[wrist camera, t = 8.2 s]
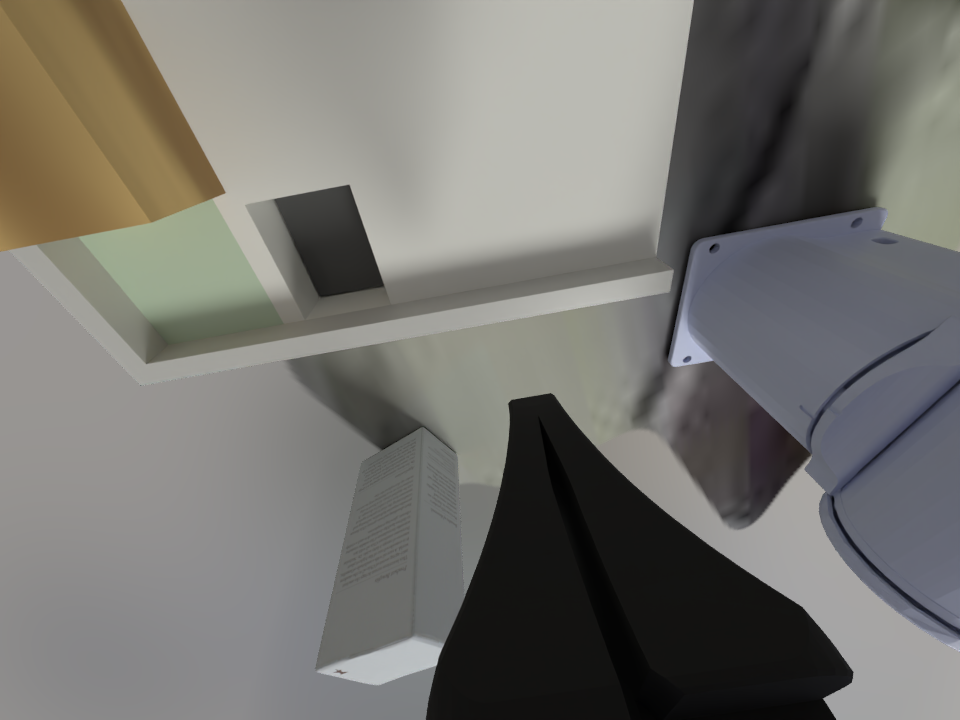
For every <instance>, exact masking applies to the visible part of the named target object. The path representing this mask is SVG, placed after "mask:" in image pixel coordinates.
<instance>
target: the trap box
mask: <svg viewBox="0 0 960 720" xmlns="http://www.w3.org/2000/svg"><path fill="white" fill-rule="evenodd" d="M121 1H122V3H123V5H124V6H125V8H126V10H127V12H128V14H129V16H130V17H131V19H132V21H133V23H134V25H135V27H136V28H137V30H138V32H139V34H140V36H141V38H142V39H143V41H144V43H145V45H146V47H147V49H148V51H149V52H150V54H151V56H152V58H153V60H154V62H155V63H156V65H157V67H158V69H159V71H160V73H161V74H162V76H163V78H164V80H165V82H166V84H167V85H168V87H169V89H170V91H171V93H172V95H173V96H174V98H175V100H176V102H177V104H178V106H179V107H180V109H181V111H182V113H183V115H184V117H185V118H186V120H187V122H188V124H189V126H190V128H191V129H192V131H193V133H194V135H195V137H196V139H197V140H198V142H199V144H200V146H201V148H202V150H203V151H204V153H205V155H206V157H207V159H208V161H209V163H210V164H211V166H212V168H213V170H214V172H215V174H216V175H217V177H218V179H219V181H220V183H221V185H222V186H223V188H224V190H225V192H226V193H225V194H223V195H220V196H218V197H215V198H213V199H210V200H208V201H205V202H203V203H200V204H197V205H195V206H192V207H190V208H187V209H185V210H182V211H180V212H177V213H175V214H172V215H170V216H167V217H165V218H162V219H160V220H157V221H155V222H152V223H148V224H143V225H137V226H132V227H127V228H122V229H116V230H111V231H106V232H101V233H95V234H90V235H85V236H80V237H75V238H69V239H64V240H59V241H54V242H48V243H43V244H38V245H33V246H27V247H22V248H17V249H12V250H9V251H10V252H11V253H12V255H13V256H15V258H16V259H17V260H18V261H20V263H21V264H22V265H23V266H24V267H25V268H26V269H27V270H28V271H29V272H30V273H31V274H32V275H33V276H34V277H35V278H36V279H37V280H38V281H39V282H40V283H41V284H42V285H43V286H44V287H45V288H46V289H47V290H48V291H49V292H50V293H51V294H52V295H53V297H54V298H55V299H57V301H58V302H59V303H60V304H61V305H62V306H63V307H64V308H65V309H66V310H67V311H68V312H69V313H70V314H71V315H72V316H73V317H74V318H75V319H76V320H77V321H78V322H79V323H80V324H81V325H82V326H83V327H84V328H85V329H86V330H87V331H88V332H89V333H90V334H91V335H92V336H93V338H94V339H95V340H96V341H97V342H98V343H99V344H100V345H101V346H102V347H103V348H104V349H105V350H106V351H107V352H108V353H109V354H110V355H111V356H112V357H113V358H114V359H115V360H116V361H117V362H118V363H119V364H120V365H121V366H122V367H123V368H124V369H125V370H126V371H127V372H128V373H129V374H130V375H131V376H132V377H133V378H134V380H135V381H136V382H137V383H138V384H140V386H142V385H147V384H153V383H159V382H165V381H170V380H176V379H182V378H187V377H193V376H199V375H204V374H210V373H215V372H221V371H226V370H232V369H238V368H243V367H249V366H255V365H260V364H266V363H272V362H278V361H283V360H289V359H295V358H300V357H306V356H311V355H317V354H323V353H328V352H334V351H340V350H345V349H351V348H357V347H362V346H368V345H374V344H379V343H385V342H390V341H396V340H402V339H407V338H413V337H419V336H424V335H430V334H436V333H441V332H447V331H452V330H458V329H464V328H469V327H475V326H481V325H486V324H492V323H498V322H503V321H509V320H515V319H520V318H526V317H531V316H537V315H543V314H548V313H554V312H560V311H565V310H571V309H577V308H582V307H588V306H594V305H599V304H605V303H610V302H616V301H622V300H627V299H633V298H639V297H644V296H650V295H656V294H661V293H667V292H670V288H671V282H672V277H673V272H674V270H673V269H672V268H671V267H669V266H668V265H667V264H665V263H664V262H662V261H661V260H660V259H658V258H657V257H656V254H657V247H658V240H659V233H660V226H661V220H662V213H663V206H664V199H665V193H666V186H667V179H668V172H669V166H670V159H671V152H672V145H673V139H674V132H675V125H676V118H677V111H678V105H679V98H680V91H681V84H682V78H683V71H684V64H685V57H686V51H687V44H688V37H689V30H690V23H691V17H692V10H693V3H694V0H121Z"/></svg>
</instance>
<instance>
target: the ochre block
mask: <svg viewBox="0 0 960 720" xmlns="http://www.w3.org/2000/svg"><path fill="white" fill-rule="evenodd" d="M225 193H226V192H225V190H224V188H223V186H222V185H221V183H220V181H219V179H218V177H217V175H216V174H215V172H214V170H213V168H212V166H211V164H210V163H209V161H208V159H207V157H206V155H205V153H204V151H203V150H202V148H201V146H200V144H199V142H198V140H197V139H196V137H195V135H194V133H193V131H192V129H191V128H190V126H189V124H188V122H187V120H186V118H185V117H184V115H183V113H182V111H181V109H180V107H179V106H178V104H177V102H176V100H175V98H174V96H173V95H172V93H171V91H170V89H169V87H168V85H167V84H166V82H165V80H164V78H163V76H162V74H161V73H160V71H159V69H158V67H157V65H156V63H155V62H154V60H153V58H152V56H151V54H150V52H149V51H148V49H147V47H146V45H145V43H144V41H143V39H142V38H141V36H140V34H139V32H138V30H137V28H136V27H135V25H134V23H133V21H132V19H131V17H130V16H129V14H128V12H127V10H126V8H125V6H124V5H123V3H122V1H121V0H0V252H1V251H6V250H12V249H17V248H22V247H27V246H33V245H38V244H43V243H48V242H54V241H59V240H64V239H69V238H75V237H80V236H85V235H90V234H95V233H101V232H106V231H111V230H116V229H122V228H127V227H132V226H137V225H143V224H148V223H152V222H155V221H157V220H160V219H162V218H165V217H167V216H170V215H172V214H175V213H177V212H180V211H182V210H185V209H187V208H190V207H192V206H195V205H197V204H200V203H203V202H205V201H208V200H210V199H213V198H215V197H218V196H220V195H223V194H225Z"/></svg>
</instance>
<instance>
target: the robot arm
mask: <svg viewBox="0 0 960 720" xmlns="http://www.w3.org/2000/svg"><path fill="white" fill-rule="evenodd" d="M887 215H888V210H887V209H885V208H881V207H873V208H867V209H862V210H856V211H851V212H845V213H840V214H834V215H829V216H823V217H817V218H812V219H806V220H801V221H795V222H790V223H784V224H779V225H773V226H768V227H762V228H757V229H751V230H746V231H740V232H735V233H729V234H724V235H718V236H713V237H707V238H702V239H699V240H698V241H696V242H695V243H694V244H693V246H692V248H691V251H690V255H689V260H688V265H687V270H686V275H685V280H684V285H683V289H682V294H681V299H680V304H679V309H678V314H677V319H676V323H675V328H674V333H673V338H672V343H671V348H670V353H669V357H668V362H669V363H670V364H671V365H672V366H674V367H678V366H684V365H690V364H696V363H702V362H708V361H715V362H716V363H717V364H718V365H719V366H720V367H721V368H722V369H723V370H724V371H725V372H726V373H727V374H728V375H729V376H730V377H731V378H732V379H733V380H734V381H736V382H737V383H738V384H739V385H740V386H741V387H742V388H743V389H744V390H745V391H746V392H747V393H748V394H749V395H750V396H751V397H752V398H753V399H754V400H756V401H757V402H758V403H759V404H760V405H761V406H762V407H763V408H764V409H765V410H766V411H767V412H768V413H769V414H770V415H771V416H772V417H773V418H774V419H775V420H777V421H778V422H779V423H780V424H781V425H782V426H783V427H784V428H785V429H786V430H787V431H788V432H789V433H790V434H791V435H792V436H793V437H794V438H795V439H796V440H798V441H799V442H800V443H801V444H802V445H803V446H804V447H805V448H806V449H807V450H808V451H809V452H810V453H811V454H812V459H811V460H810V462H809V464H808V465H807V466H806V467H805V471H806V472H807V473H808V474H809V475H810V476H811V477H812V478H813V479H814V480H815V481H816V482H817V483H818V484H819V485H820V486H821V487H822V488H823V489H824V490H825V491H826V492H825V493H824V494H823V496H822V498H821V501H820V503H819V514H820V518H821V523H822V525H823V528H824V530H825V532H826V535H827V536H828V538H829V540H830V541H831V543H832V545H833V546H834V548H835V550H836V551H837V552H838V553H839V555H840V556H841V557H842V559H843V560H844V561H845V563H846V564H847V565H848V566H849V567H850V569H851V570H852V571H853V572H854V573H855V574H856V575H857V576H858V577H859V578H860V580H861V581H862V582H864V583H865V584H866V585H867V586H868V587H869V588H870V589H871V590H872V591H873V592H874V593H875V594H876V595H877V596H878V597H880V598H881V599H882V600H883V601H884V602H885V603H887V604H888V605H889V606H890V607H892V608H893V609H894V610H895V611H896V612H898V613H899V614H900V615H902V616H903V617H905V618H906V619H907V620H909V621H910V622H912V623H913V624H914V625H916V626H917V627H918V628H920V629H922V630H923V631H925V632H926V633H928V634H929V635H931V636H933V637H934V638H936V639H937V640H939V641H941V642H942V643H944V644H945V645H947V646H949V647H951V648H953V649H955V650H957V651H959V652H960V252H958V251H954V250H951V249H947V248H944V247H940V246H936V245H933V244H929V243H926V242H922V241H919V240H915V239H912V238H908V237H905V236H901V235H898V234H894V233H891V232H887V231H884V230H881V228H882V226H883V224H884V222H885V220H886V218H887ZM853 221H854V222H853ZM852 222H853V223H852ZM713 244H715V246H714V248H713V249H712V250H710V251H709V249H710V247H711V246H712V245H713ZM685 357H686V358H685ZM684 358H685V359H684ZM508 405H509V412H510V429H509V441H508V449H507V457H506V463H505V468H504V473H503V478H502V483H501V488H500V492H499V496H498V500H497V504H496V508H495V512H494V515H493V519H492V522H491V526H490V529H489V532H488V535H487V538H486V541H485V545H484V547H483V551H482V553H481V556H480V559H479V562H478V564H477V567H476V570H475V572H474V575H473V577H472V580H471V583H470V585H469V588H468V590H467V593H466V596H465V598H464V601H463V603H462V605H461V608H460V610H459V612H458V615H457V617H456V619H455V621H454V624H453V626H452V628H451V630H450V632H449V635H448V637H447V639H446V641H445V644H444V646H443V648H442V650H441V653H440V655H439V658H438V663H437V667H436V671H435V675H434V679H433V683H432V687H431V692H430V696H429V701H428V708H427V716H426V720H836V718H835V717H834V715H833V714H832V712H831V710H830V709H829V707H828V706H827V704H826V703H825V701H824V700H823V698H824V697H826V696H828V695H830V694H832V693H834V692H836V691H838V690H840V689H841V688H844V687H845V686H847V685H849V684H850V683H852V679H853V671H852V670H851V668H850V667H849V665H848V664H847V662H846V661H845V660H844V658H843V657H842V656H841V654H840V653H839V651H838V650H837V649H836V647H835V646H834V645H833V643H832V642H831V641H830V639H829V638H828V637H827V636H826V634H825V633H824V632H823V631H822V630H821V628H820V627H819V626H818V625H817V624H816V623H815V621H814V620H813V619H812V618H811V617H810V616H809V614H808V613H807V612H806V611H805V610H804V609H803V607H801V606H800V605H798V604H796V603H795V602H794V601H792V600H790V599H789V598H787V597H785V596H784V595H783V594H781V593H779V592H778V591H776V590H775V589H773V588H771V587H770V586H768V585H767V584H765V583H764V582H762V581H760V580H759V579H758V578H756V577H755V576H753V575H752V574H750V573H749V572H747V571H746V570H744V569H743V568H741V567H740V566H738V565H736V564H735V563H734V562H732V561H731V560H730V559H728V558H727V557H725V556H724V555H722V554H721V553H719V552H718V551H716V550H715V549H714V548H712V547H711V546H709V545H708V544H707V543H706V542H704V541H703V540H701V539H700V538H699V537H698V536H696V535H695V534H694V533H692V532H691V531H690V530H688V529H687V528H686V527H684V526H683V525H682V524H680V523H679V522H678V521H676V520H675V519H674V518H672V517H671V516H670V515H669V514H667V513H666V512H665V511H664V510H662V509H661V508H660V507H659V506H658V505H656V504H655V503H654V502H653V501H651V500H650V499H649V498H648V497H647V496H646V495H645V494H644V493H642V492H641V491H640V490H639V489H638V488H637V487H636V486H634V485H633V484H632V483H631V482H630V481H629V480H628V479H627V478H626V477H625V476H624V475H622V473H620V472H619V471H618V470H617V469H616V468H615V467H614V466H613V465H612V464H611V463H610V462H609V461H608V460H607V459H606V458H605V457H604V455H603V454H602V453H601V452H600V451H599V450H598V449H597V448H596V447H595V446H594V445H593V444H592V442H591V441H590V440H589V439H588V438H587V437H586V436H585V435H584V434H583V432H582V431H581V430H580V429H579V428H578V426H577V425H576V424H575V423H574V422H573V420H572V419H571V418H570V417H569V415H568V414H567V413H566V411H565V410H564V409H563V407H562V406H561V404H560V403H559V402H558V400H557V399H556V397H555V396H554V395H553V394H551V393H550V394H544V395H538V396H532V397H526V398H521V399H515V400H511V401H510V402H509V403H508Z"/></svg>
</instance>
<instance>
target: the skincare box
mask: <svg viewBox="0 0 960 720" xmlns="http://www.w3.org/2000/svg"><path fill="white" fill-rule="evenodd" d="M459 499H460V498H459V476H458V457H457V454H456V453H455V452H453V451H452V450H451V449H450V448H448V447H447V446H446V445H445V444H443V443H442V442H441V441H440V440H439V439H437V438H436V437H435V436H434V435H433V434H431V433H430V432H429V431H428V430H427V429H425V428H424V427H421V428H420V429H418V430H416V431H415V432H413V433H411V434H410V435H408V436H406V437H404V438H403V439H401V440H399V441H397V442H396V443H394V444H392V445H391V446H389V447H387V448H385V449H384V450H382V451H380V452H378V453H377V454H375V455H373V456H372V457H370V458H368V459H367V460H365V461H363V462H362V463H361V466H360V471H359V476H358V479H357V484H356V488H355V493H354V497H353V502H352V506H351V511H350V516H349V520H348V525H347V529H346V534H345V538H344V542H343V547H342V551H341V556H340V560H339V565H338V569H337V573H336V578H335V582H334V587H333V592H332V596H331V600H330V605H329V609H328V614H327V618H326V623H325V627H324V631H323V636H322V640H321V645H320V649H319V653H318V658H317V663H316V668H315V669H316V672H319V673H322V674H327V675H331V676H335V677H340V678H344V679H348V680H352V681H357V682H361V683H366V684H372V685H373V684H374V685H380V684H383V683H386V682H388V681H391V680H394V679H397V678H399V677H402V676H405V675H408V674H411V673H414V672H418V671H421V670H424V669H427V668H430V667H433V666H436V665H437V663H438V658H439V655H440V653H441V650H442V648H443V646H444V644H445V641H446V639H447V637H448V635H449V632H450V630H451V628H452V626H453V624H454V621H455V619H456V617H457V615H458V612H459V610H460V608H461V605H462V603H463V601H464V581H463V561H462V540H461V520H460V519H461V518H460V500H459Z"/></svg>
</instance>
